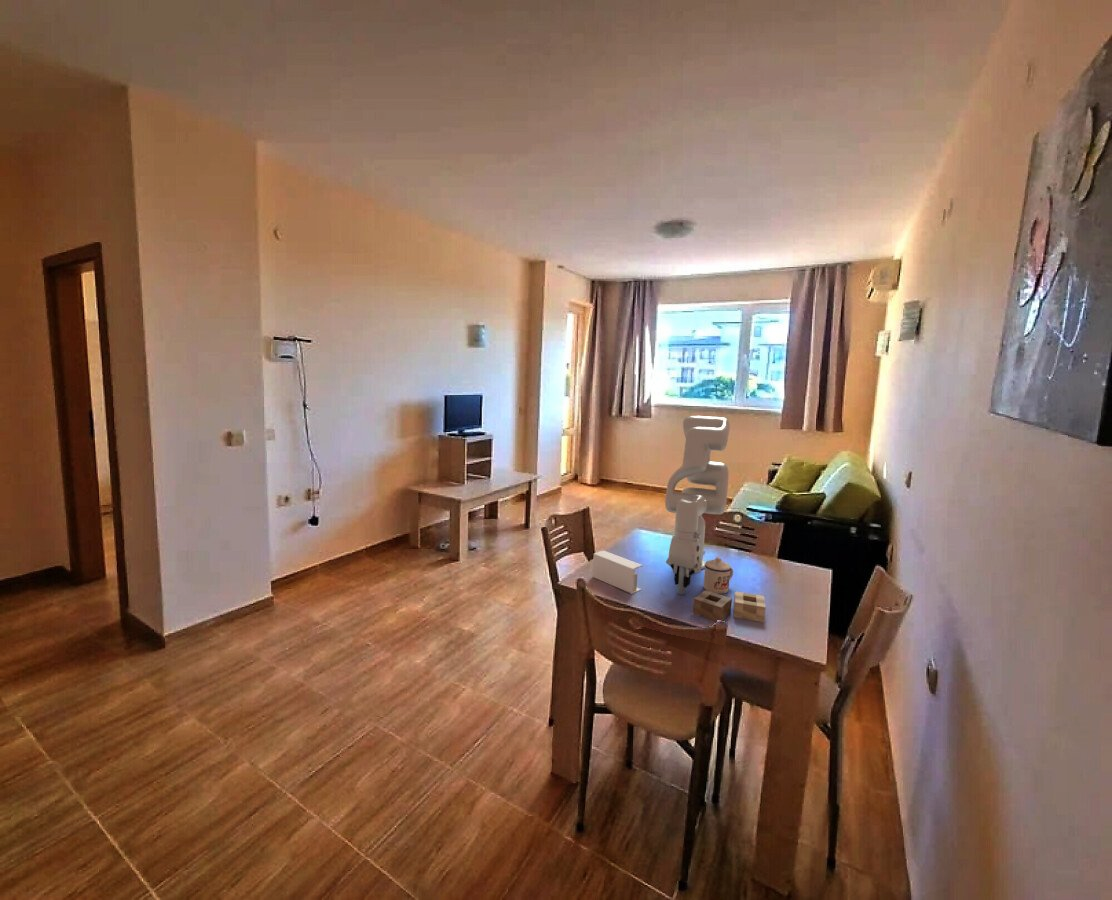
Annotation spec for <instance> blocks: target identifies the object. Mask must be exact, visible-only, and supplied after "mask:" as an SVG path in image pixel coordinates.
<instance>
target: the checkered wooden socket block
mask: <svg viewBox="0 0 1112 900" xmlns="http://www.w3.org/2000/svg"><path fill="white" fill-rule="evenodd" d="M733 600H734V601H733V618H737V619H743V620H748V621H754V622H760V623H765V617H766V600H765V595H761V594H754V593H749V592H742V591H736V590H735V591H734V598H733Z"/></svg>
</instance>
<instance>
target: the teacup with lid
mask: <svg viewBox="0 0 1112 900" xmlns="http://www.w3.org/2000/svg"><path fill="white" fill-rule="evenodd" d="M705 562H706V563H705V568H704V573H703V575H704V576H703V589H704V590H706V591H710V592H713V593H716V594H720V595H722V594H726V593H728V592H729V589H730V588H729V587H730V580H731V579H732V578H733V575H734V569H733V568H732V567H731V565H730V564H729V563H728V562H726V561H723V559H722V558H721V557H720V556H719V557H718V556H716V557H715V559H710V560H706V561H705Z"/></svg>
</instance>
